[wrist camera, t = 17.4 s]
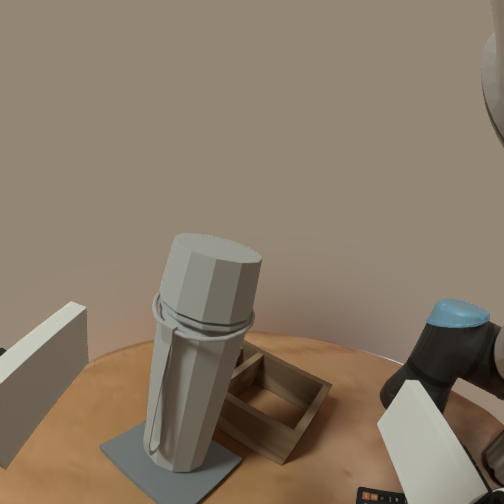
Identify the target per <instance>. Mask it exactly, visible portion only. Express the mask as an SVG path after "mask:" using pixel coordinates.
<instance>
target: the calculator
mask: <svg viewBox="0 0 504 504" xmlns="http://www.w3.org/2000/svg"><path fill="white" fill-rule="evenodd" d="M356 504H408V502H407V499H406V496H405V494H403V493H395V492H388V491H381V490H375V489H370V488H365V487H359V488H358V492H357V499H356Z"/></svg>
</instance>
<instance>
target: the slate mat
mask: <svg viewBox="0 0 504 504" xmlns="http://www.w3.org/2000/svg"><path fill="white" fill-rule="evenodd" d="M146 421H147V420H146ZM146 421H145V422H143V423H141V424H139V425H137V426H136V427H134V428H132V429H130V430H128V431H127V432H125V433H123V434H121V435H119V436H117V437H115V438H113V439H111V440H109V441H108V442H106V443H104V444H102V445H100V449H101V451H102V452H103V453H104V454H105V455H106V456H107V457H108V458H109V459H110V460H111V461H112V462H113V463H114V464H115V465H116V466H117V467H118V468H119V469H120V470H121V471H122V472H123V473H124V474H125V475H126V476H127V477H128V478H129V479H130V480H131V481H132V482H133V483H134V484H135V485H136V486H137V487H139V488H140V489H141V490H142V491H143V492H144V493H145V494H147V495H148V496H149V497H150V498H151V499H152V500H154V501H155V502H156V503H157V504H197V503H198V502H199V501H201V500H202V499H203V498H204V497H205V496H206V495H207V494H208V493H209V492H210V491H211V490H212V489H214V488H215V487H216V486H217V485H218V484H219V483H220V482H221V481H222V480H223V479H224V478H225V477H226V476H227V475H228V474H229V473H230V472H231V471H232V470H233V469H234V468H235V467H236V466H237V465H238V464H239V463H240V462H241V460H242V458H241V457H239V456H238V455H236V454H234V453H233V452H231V451H230V450H228V449H226V448H225V447H223V446H222V445H220V444H219V443H217V442H216V441H214V440H213V439H211V442H210V445H209V448H208V451H207V454H206V456H205V458H204V460H203V463H202V465H201V466H199V467H197V468H195V469H193V470H191V471H189V472H172V471H169V470H167V469H165V468H162V467H160V466H158V465H156V464H155V462H154V461H153V460H152V459H151V458H150V457H149V455H148V454H147V453H146V452H145V450H144V444H143V438H144V432H145V426H146Z"/></svg>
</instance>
